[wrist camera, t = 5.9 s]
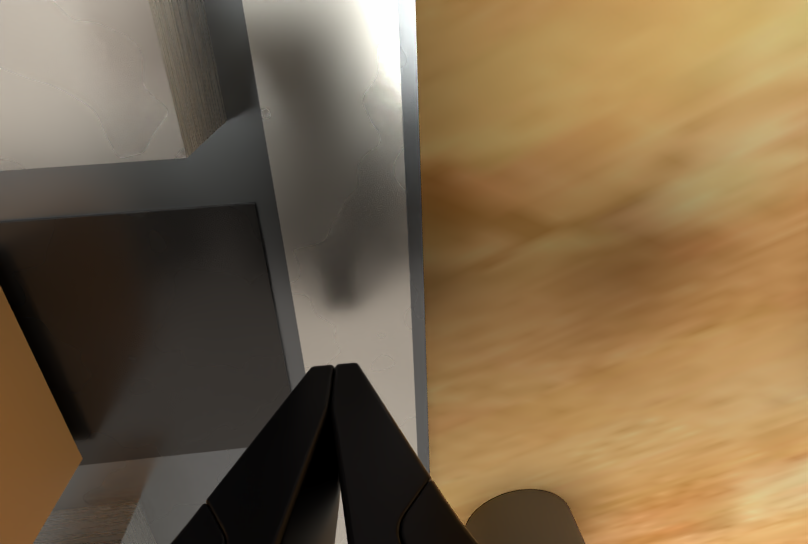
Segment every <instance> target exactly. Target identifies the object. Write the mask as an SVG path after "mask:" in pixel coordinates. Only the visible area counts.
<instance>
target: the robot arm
mask: <svg viewBox="0 0 808 544" xmlns="http://www.w3.org/2000/svg"><path fill="white" fill-rule="evenodd" d="M340 491H341V497H342V505H343V512H344V520H345V527H346V535H347V542H348V544H479V543H478V542H477V541H476V540H475V538H474V537H473V536H472V535H471V533H470V532H469V531H468V530H467V528H466V527H465V526H464V525H463V523H462V522H461V521H460V519H459V518H458V517H457V515H456V514H455V512H454V511H453V509H452V508H451V507H450V505H449V504H448V502H447V501H446V499H445V498H444V496H443V495H442V493H441V492H440V490H439V489H438V487H437V486H436V484H435V482H434V481H432V480H431V477H430V475H429V473H428V472H427V470H426V469H425V467H424V466H423V464H422V463H421V461H420V459H419V458H418V456H417V455H416V453H415V452H414V450H413V448H412V447H411V445H410V444H409V442H408V441H407V439H406V438H405V436H404V434H403V433H402V431H401V430H400V428H399V427H398V425H397V423H396V422H395V420H394V419H393V417H392V416H391V414H390V413H389V411H388V409H387V408H386V406H385V405H384V403H383V402H382V400H381V398H380V397H379V395H378V394H377V392H376V391H375V389H374V388H373V386H372V384H371V383H370V381H369V380H368V378H367V377H366V375H365V374H364V372H363V370H362V369H361V367H360V366H359V364H358V363H343V364H337V365H336V366H335V367H334V366H333V365H320V366H313V367H311V368H310V369H309V371H308V372H307V373H306V374H305V376H304V377H303V378H302V379H301V381H300V382H299V383H298V384H297V386H296V387H295V388H294V390H293V391H292V392H291V393H290V395H289V396H288V397H287V398H286V400H285V401H284V402H283V403H282V405H281V406H280V407H279V408H278V410H277V411H276V412H275V414H274V415H273V416H272V417H271V419H270V420H269V421H268V422H267V424H266V425H265V426H264V427H263V429H262V430H261V431H260V433H259V434H258V435H257V436H256V438H255V439H254V440H253V441H252V443H251V444H250V445H249V446H248V448H247V449H246V450H245V452H244V453H243V454H242V455H241V457H240V458H239V459H238V460H237V462H236V463H235V464H234V465H233V467H232V468H231V469H230V470H229V472H228V473H227V474H226V476H225V477H224V478H223V479H222V481H221V482H220V483H219V484H218V486H217V487H216V488H215V489H214V491H213V492H212V493H211V495H210V496H209V497H208V498H207V500H206V504H202V506H201V507H200V508H199V509H198V511H197V512H196V513H195V514H194V516H193V517H192V518H191V520H190V521H189V522H188V523H187V524H186V526H185V527H184V528H183V529H182V530H181V532H180V533H179V534H178V535H177V536H176V538H175V539H174V540H173V541H172V542H171V544H335V538H336V529H337V520H338V511H339V502H340Z"/></svg>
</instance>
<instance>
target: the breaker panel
mask: <svg viewBox="0 0 808 544" xmlns="http://www.w3.org/2000/svg"><path fill="white" fill-rule="evenodd" d="M0 286H1V288H2V290H3V292H4V294H5V296H6V299H7V301H8V303H9V305H10V307H11V309H12V311H13V313H14V315H15V317H16V320H17V322H18V324H19V326H20V328H21V330H22V332H23V334H24V336H25V338H26V341H27V343H28V345H29V347H30V349H31V351H32V353H33V355H34V357H35V360H36V362H37V364H38V366H39V368H40V370H41V372H42V374H43V376H44V378H45V381H46V383H47V385H48V387H49V389H50V391H51V393H52V395H53V397H54V400H55V402H56V404H57V406H58V408H59V410H60V412H61V414H62V416H63V418H64V421H65V423H66V425H67V427H68V429H69V431H70V433H71V435H72V437H73V440H74V442H75V444H76V446H77V448H78V450H79V452H80V454H81V456H82V458H83V459H82V461H81V462H80V464H79V466H78V467H77V469H76V471H75V472H74V474H73V476H72V478H71V479H70V481H69V483H68V484H67V486H66V488H65V490H64V491H63V493H62V495H61V496H60V498H59V500H58V501H57V503H56V505H55V507H54V508H53V510H52V512H51V513H50V515H49V517H48V519H47V520H46V522H45V524H44V525H43V527H42V529H41V530H40V532H39V534H38V536H37V537H36V539H35V541H34V542H33V544H171V542H172V541H173V540H174V539H175V538H176V536H177V535H178V534H179V533H180V532H181V530H182V529H183V528H184V527H185V526H186V524H187V523H188V522H189V521H190V520H191V518H192V517H193V516H194V514H195V513H196V512H197V511H198V509H199V508H200V507H201V506H202V504H206V500H207V498H208V497H209V496H210V495H211V493H212V492H213V491H214V489H215V488H216V487H217V486H218V484H219V483H220V482H221V481H222V479H223V478H224V477H225V476H226V474H227V473H228V472H229V470H230V469H231V468H232V467H233V465H234V464H235V463H236V462H237V460H238V459H239V458H240V457H241V455H242V454H243V453H244V452H245V450H246V449H247V448H248V446H249V445H250V444H251V443H252V441H253V440H254V439H255V438H256V436H257V435H258V434H259V433H260V431H261V430H262V429H263V427H264V426H265V425H266V424H267V422H268V421H269V420H270V419H271V417H272V416H273V415H274V414H275V412H276V411H277V410H278V408H279V407H280V406H281V405H282V403H283V402H284V401H285V400H286V398H287V397H288V396H289V395H290V393H291V392H292V391H293V390H294V388H295V387H296V386H297V384H298V383H299V382H300V381H301V379H302V378H303V377H304V376H305V374H306V373H307V372H308V371H309V369H310V368H311V367H313V366H320V365H333V366H334V367H335V366H336V365H337V364H343V363H358V364H359V366H360V367H361V369H362V370H363V372H364V374H365V375H366V377H367V378H368V380H369V381H370V383H371V384H372V386H373V388H374V389H375V391H376V392H377V394H378V395H379V397H380V398H381V400H382V402H383V403H384V405H385V406H386V408H387V409H388V411H389V413H390V414H391V416H392V417H393V419H394V420H395V422H396V423H397V425H398V427H399V428H400V430H401V431H402V433H403V434H404V436H405V438H406V439H407V441H408V442H409V444H410V445H411V447H412V448H413V450H414V452H415V453H416V455H417V456H418V458H419V459H420V461H421V463H422V464H423V466H424V467H425V469H426V470H427V472H428V473H429V475H430V470H429V437H428V404H427V371H426V338H425V305H424V272H423V238H422V205H421V172H420V139H419V106H418V73H417V40H416V7H415V0H0ZM335 544H348V542H347V535H346V527H345V520H344V512H343V505H342V497H341V491H340V502H339V511H338V520H337V529H336V538H335Z"/></svg>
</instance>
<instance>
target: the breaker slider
mask: <svg viewBox="0 0 808 544" xmlns="http://www.w3.org/2000/svg"><path fill="white" fill-rule="evenodd" d="M82 459H83V458H82V456H81V454H80V452H79V450H78V448H77V446H76V444H75V442H74V440H73V437H72V435H71V433H70V431H69V429H68V427H67V425H66V423H65V421H64V418H63V416H62V414H61V412H60V410H59V408H58V406H57V404H56V402H55V400H54V397H53V395H52V393H51V391H50V389H49V387H48V385H47V383H46V381H45V378H44V376H43V374H42V372H41V370H40V368H39V366H38V364H37V362H36V360H35V357H34V355H33V353H32V351H31V349H30V347H29V345H28V343H27V341H26V338H25V336H24V334H23V332H22V330H21V328H20V326H19V324H18V322H17V320H16V317H15V315H14V313H13V311H12V309H11V307H10V305H9V303H8V301H7V299H6V296H5V294H4V292H3V290H2V288H1V286H0V544H33V542H34V541H35V539H36V537H37V536H38V534H39V532H40V530H41V529H42V527H43V525H44V524H45V522H46V520H47V519H48V517H49V515H50V513H51V512H52V510H53V508H54V507H55V505H56V503H57V501H58V500H59V498H60V496H61V495H62V493H63V491H64V490H65V488H66V486H67V484H68V483H69V481H70V479H71V478H72V476H73V474H74V472H75V471H76V469H77V467H78V466H79V464H80V462H81V461H82Z"/></svg>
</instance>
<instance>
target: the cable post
mask: <svg viewBox="0 0 808 544" xmlns="http://www.w3.org/2000/svg"><path fill="white" fill-rule="evenodd" d="M466 528H467V530H468V531H469V532H470V533H471V535H472V536H473V537H474V538H475V540H476V541H477V542H478V543H479V544H585V542H584V540H583V537H582V535H581V533H580V531H579V529H578V526H577V524H576V522H575V520H574V517H573V515H572V513H571V511H570V508H569V506H568V505H567V503H566V502H565V501H564V500H563V499H561V498H560V497H559V496H557V495H555V494H552V493H550V492H546V491H541V490H519V491H514V492H510V493H506V494H503V495H500V496H498V497H496V498H493V499H491V500H490V501H488V502H486V503H485V504H483V505H482V506H481V507H479V508H478V509H477V510H476V511H475V512H474V513H473V514H472V516H471V517H470V518H469V520H468V522H467V524H466Z"/></svg>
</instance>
